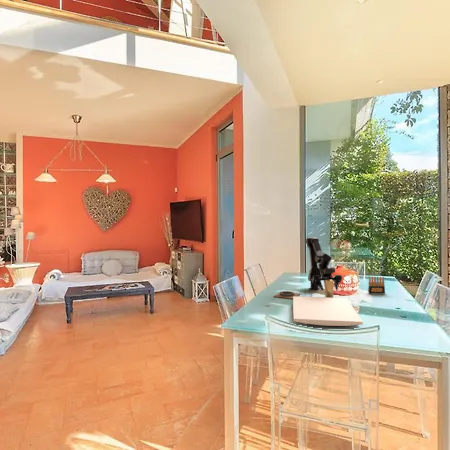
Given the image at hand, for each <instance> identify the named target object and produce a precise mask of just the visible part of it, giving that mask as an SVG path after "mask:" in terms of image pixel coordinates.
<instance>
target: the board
mask: <svg viewBox="0 0 450 450" xmlns="http://www.w3.org/2000/svg"><path fill="white" fill-rule="evenodd" d="M292 301H293V302H292V303H293V304H292V305H293V306H292V307H293V310H292V312H293V322H297V323H302V324H303V325H315V326H328V327H329V326H333V327H335V326H338V327H343V326H345V327H347V326H349V327H350V326H361V325H362V326H363V325H364V324H363V323H364V322H363V320H362V319H361V317H360V315H359V314H358V312H357V311H356V309H355V308H354V307H353V305H352V303H351V302H350V301H349V299H348V298H347V297H345V298H344V297H333V298H327V297H325V296H324V297H323V296H322V297H321V296H298V297H296V296H293V299H292Z"/></svg>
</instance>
